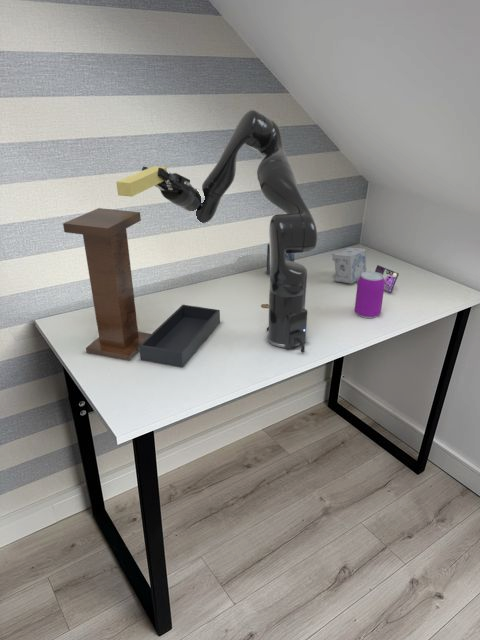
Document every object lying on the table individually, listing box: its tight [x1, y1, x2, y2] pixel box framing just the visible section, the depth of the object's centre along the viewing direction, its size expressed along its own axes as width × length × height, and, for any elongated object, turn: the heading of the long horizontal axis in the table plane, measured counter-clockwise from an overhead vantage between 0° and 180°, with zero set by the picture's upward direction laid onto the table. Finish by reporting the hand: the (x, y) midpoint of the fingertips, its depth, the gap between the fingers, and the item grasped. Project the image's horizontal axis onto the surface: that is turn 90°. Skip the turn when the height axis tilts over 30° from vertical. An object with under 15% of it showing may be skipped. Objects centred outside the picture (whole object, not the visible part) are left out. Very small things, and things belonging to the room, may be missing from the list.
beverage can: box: [354, 270, 386, 319], centre depth 148 cm, size 8×8×12 cm
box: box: [266, 243, 295, 276], centre depth 175 cm, size 8×6×11 cm
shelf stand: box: [62, 207, 152, 362], centre depth 123 cm, size 14×12×33 cm
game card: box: [374, 264, 399, 294], centre depth 167 cm, size 7×5×9 cm
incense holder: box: [332, 247, 367, 284], centre depth 171 cm, size 10×8×10 cm
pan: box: [139, 304, 221, 368], centre depth 134 cm, size 25×11×4 cm, turn 163°
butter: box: [116, 165, 168, 197], centre depth 129 cm, size 19×4×3 cm, turn 163°
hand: (151, 171), depth 132 cm, fingers closed on butter, 4 cm apart
